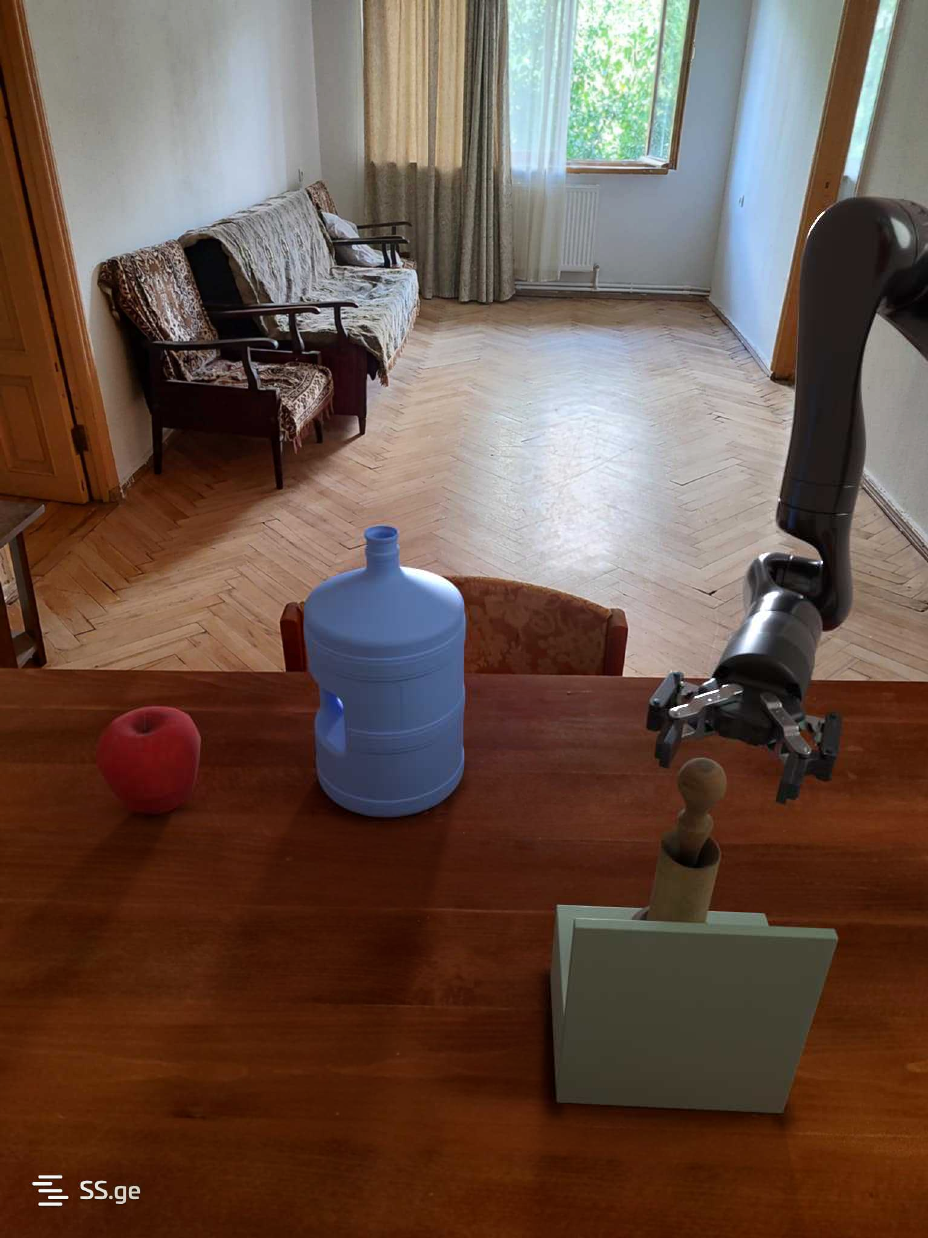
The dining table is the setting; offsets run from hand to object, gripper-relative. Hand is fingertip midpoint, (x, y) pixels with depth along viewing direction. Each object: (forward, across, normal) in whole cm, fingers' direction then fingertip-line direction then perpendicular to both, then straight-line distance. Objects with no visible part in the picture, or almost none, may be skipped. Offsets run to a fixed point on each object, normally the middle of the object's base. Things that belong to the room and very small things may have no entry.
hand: (722, 776), depth 64 cm
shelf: (+8, 0, +20) cm, 21 cm away
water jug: (-9, -34, +20) cm, 41 cm away
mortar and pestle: (+8, 0, +12) cm, 14 cm away
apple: (+6, -53, +20) cm, 57 cm away
